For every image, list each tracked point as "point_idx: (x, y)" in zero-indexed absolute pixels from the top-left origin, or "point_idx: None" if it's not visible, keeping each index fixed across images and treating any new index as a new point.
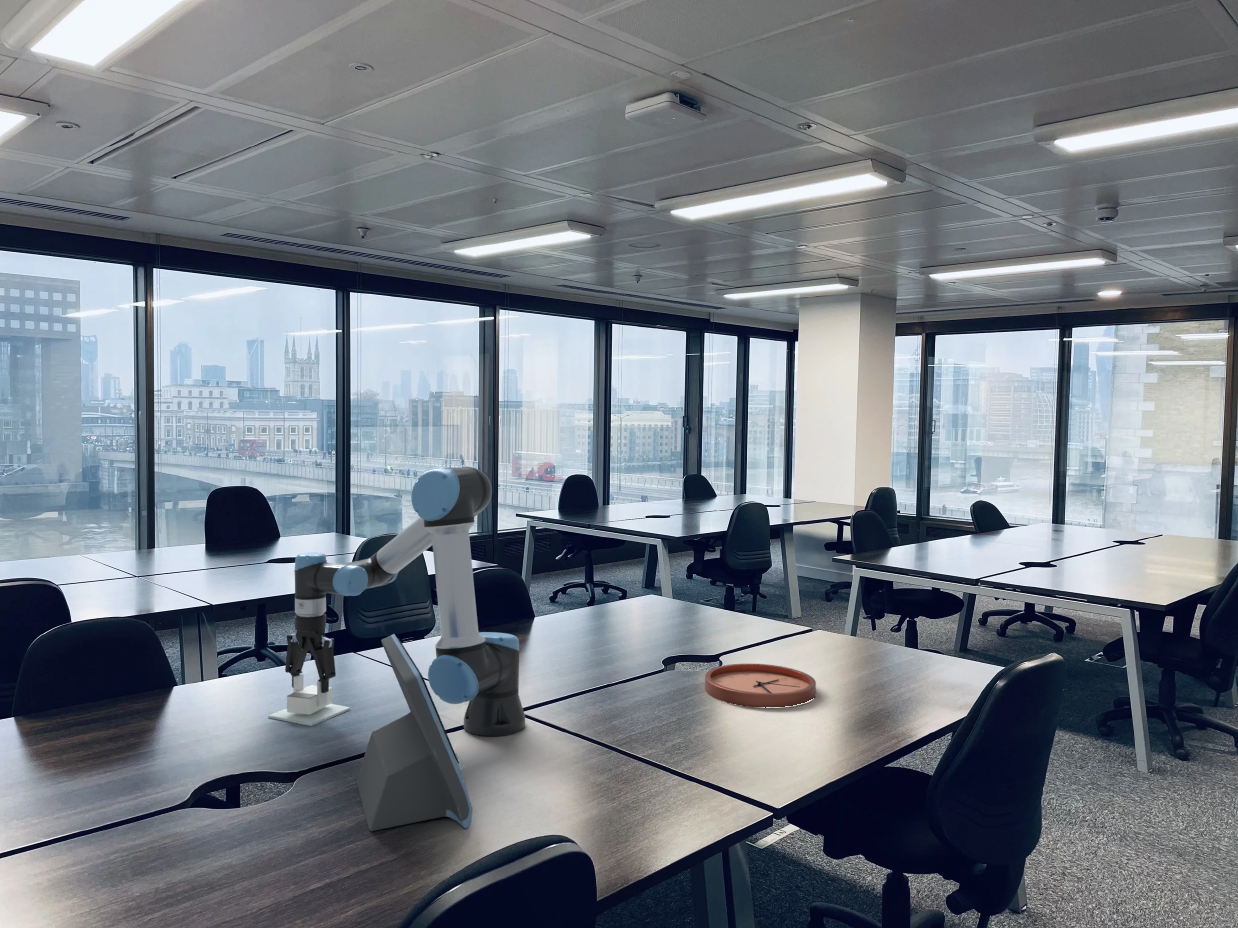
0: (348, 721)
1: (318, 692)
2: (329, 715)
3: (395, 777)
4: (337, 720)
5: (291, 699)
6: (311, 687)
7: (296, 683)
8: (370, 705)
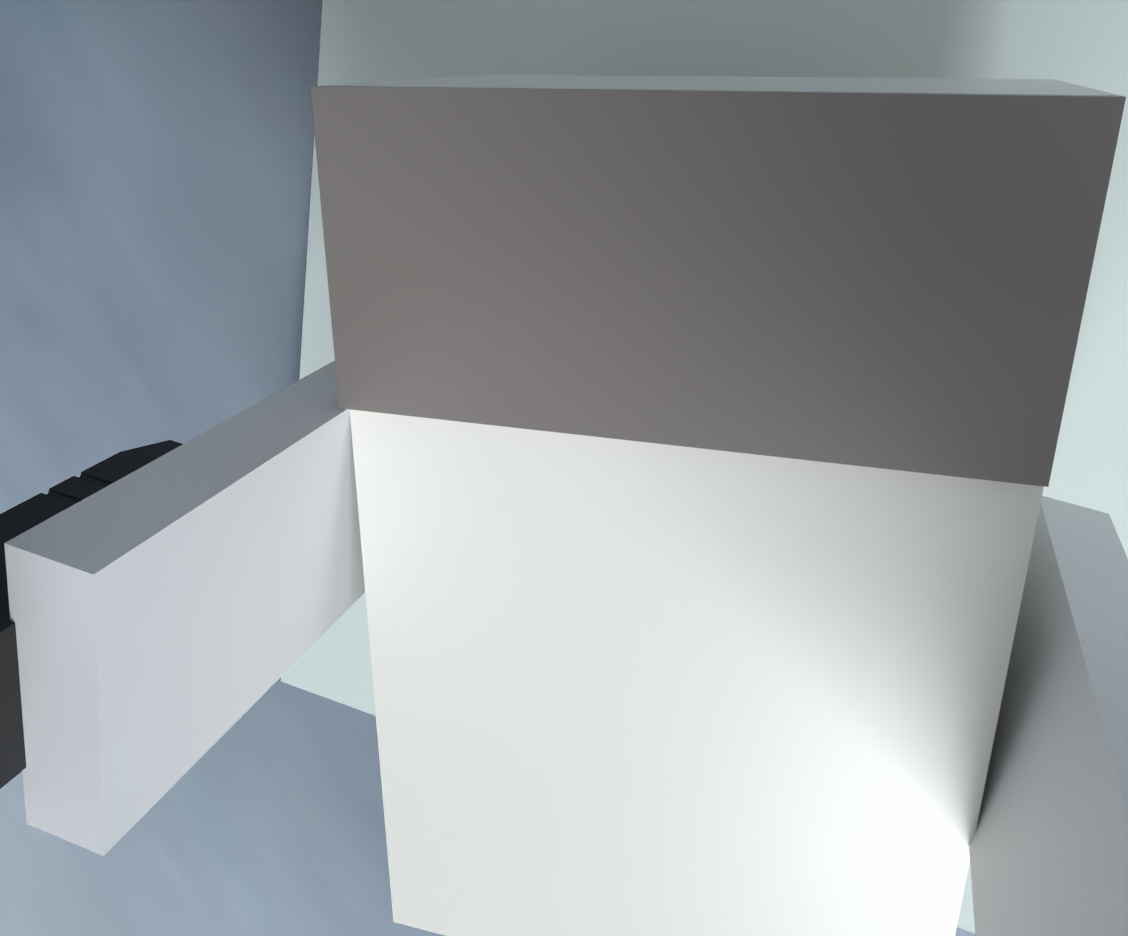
0: (28, 215)
1: (271, 417)
2: (324, 311)
3: None
4: (174, 217)
5: (937, 91)
6: (807, 914)
7: (1099, 787)
8: (188, 811)
